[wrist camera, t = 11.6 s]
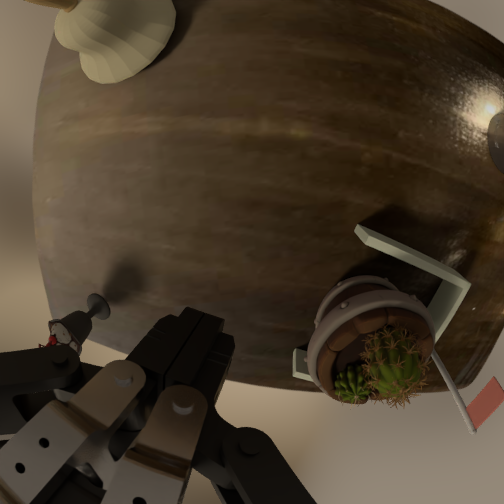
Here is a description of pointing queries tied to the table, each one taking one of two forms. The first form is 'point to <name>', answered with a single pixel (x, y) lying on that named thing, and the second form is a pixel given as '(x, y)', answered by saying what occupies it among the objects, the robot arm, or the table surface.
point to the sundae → (77, 324)
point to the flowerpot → (370, 342)
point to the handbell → (113, 34)
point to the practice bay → (441, 314)
